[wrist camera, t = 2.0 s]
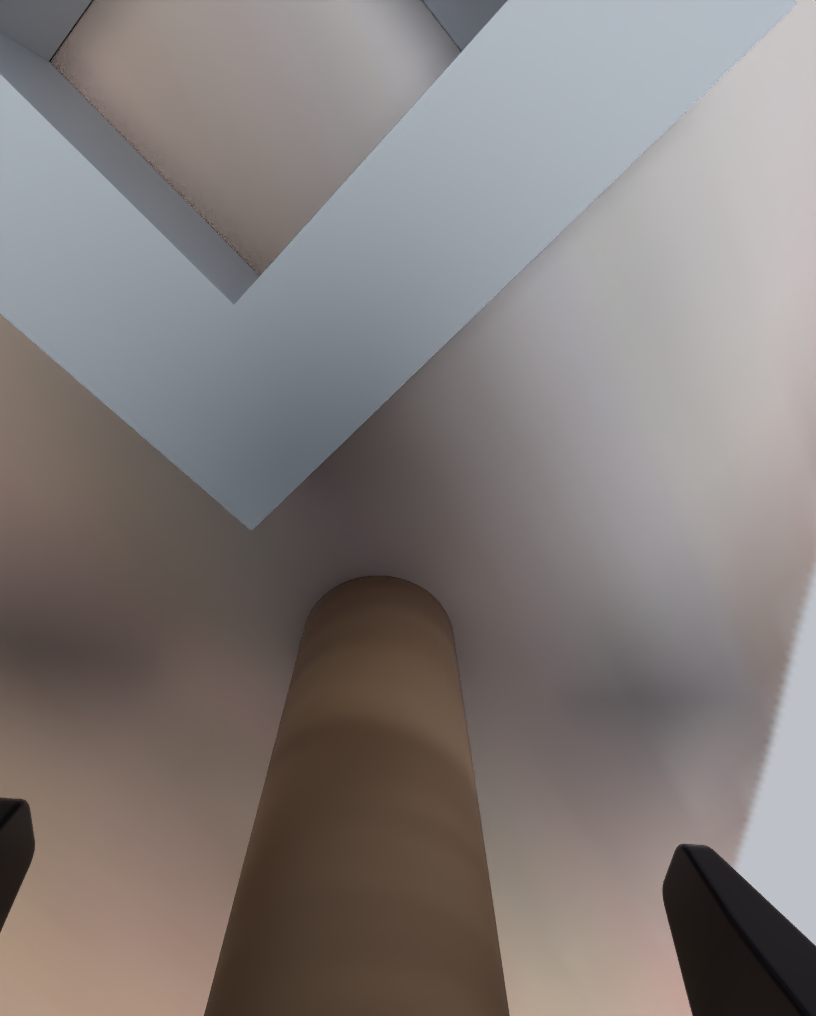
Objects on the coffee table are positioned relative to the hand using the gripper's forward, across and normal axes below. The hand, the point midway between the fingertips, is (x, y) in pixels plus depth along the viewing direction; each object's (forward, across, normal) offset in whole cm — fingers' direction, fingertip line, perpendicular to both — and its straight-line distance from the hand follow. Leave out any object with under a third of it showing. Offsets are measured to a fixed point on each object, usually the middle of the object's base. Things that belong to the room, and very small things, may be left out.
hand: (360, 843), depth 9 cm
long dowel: (+5, 0, 0) cm, 5 cm away
